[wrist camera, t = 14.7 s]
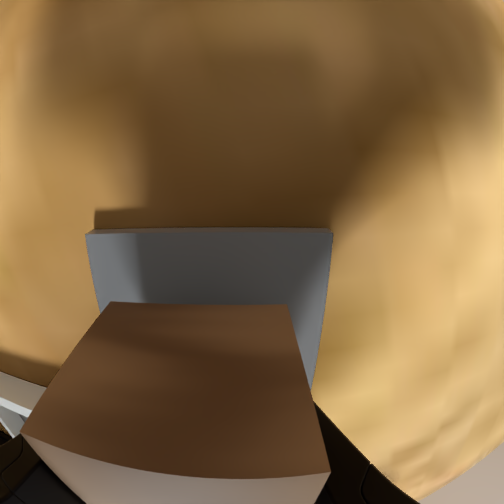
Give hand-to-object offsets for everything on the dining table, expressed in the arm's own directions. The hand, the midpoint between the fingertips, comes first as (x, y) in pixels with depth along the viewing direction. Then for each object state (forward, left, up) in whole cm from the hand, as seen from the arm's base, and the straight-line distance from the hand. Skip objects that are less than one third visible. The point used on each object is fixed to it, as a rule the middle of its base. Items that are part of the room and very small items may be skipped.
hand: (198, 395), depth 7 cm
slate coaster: (0, 0, -3) cm, 3 cm away
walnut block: (0, 0, -1) cm, 1 cm away
